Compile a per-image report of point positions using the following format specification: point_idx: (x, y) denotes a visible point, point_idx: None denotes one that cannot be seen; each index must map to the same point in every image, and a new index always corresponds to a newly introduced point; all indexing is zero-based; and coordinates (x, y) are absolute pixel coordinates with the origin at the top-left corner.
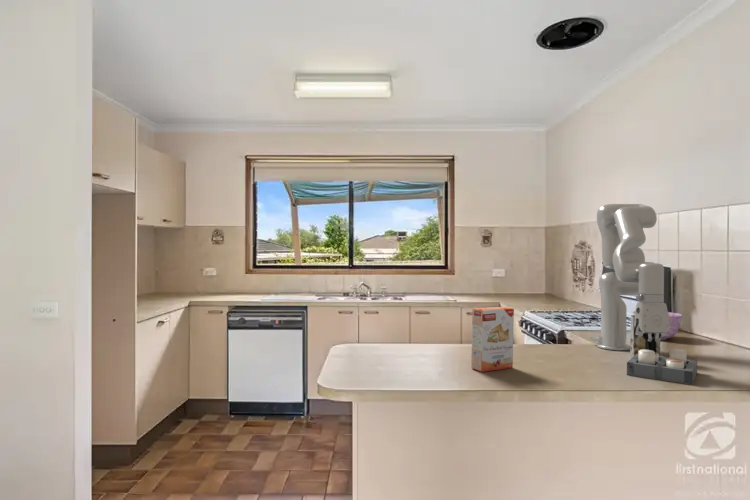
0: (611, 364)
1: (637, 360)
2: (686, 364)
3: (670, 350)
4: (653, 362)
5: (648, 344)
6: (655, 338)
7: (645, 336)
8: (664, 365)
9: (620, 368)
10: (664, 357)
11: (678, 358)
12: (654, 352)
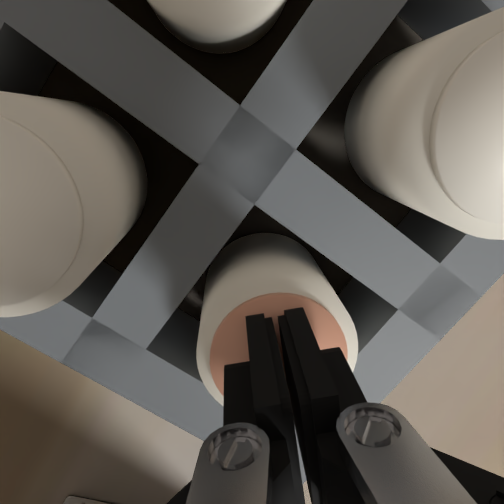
0: (463, 411)
1: (460, 234)
2: (23, 12)
3: (94, 232)
4: (420, 42)
5: (358, 390)
6: (263, 465)
7: (493, 492)
8: (287, 37)
9: (475, 305)
10: (114, 355)
11: (62, 106)
12: (448, 58)
